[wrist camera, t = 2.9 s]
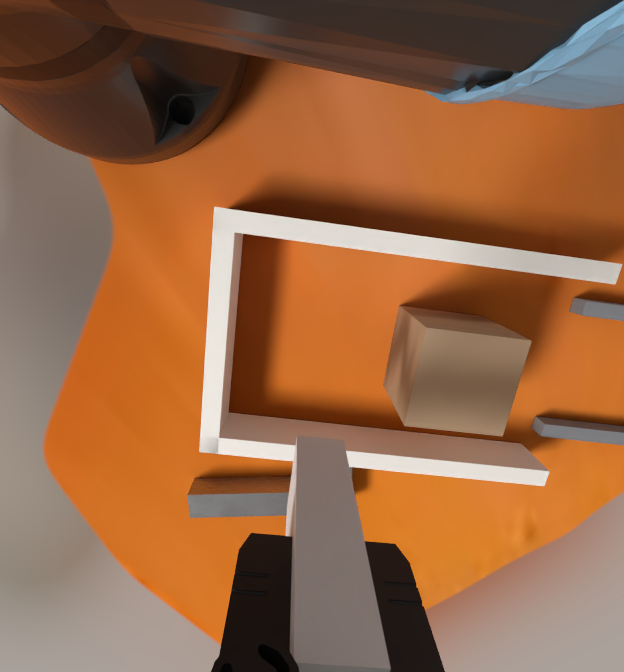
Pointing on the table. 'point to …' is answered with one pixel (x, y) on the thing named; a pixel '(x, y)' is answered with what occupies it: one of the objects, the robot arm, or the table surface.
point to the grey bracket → (579, 428)
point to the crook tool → (239, 496)
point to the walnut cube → (454, 371)
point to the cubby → (360, 442)
